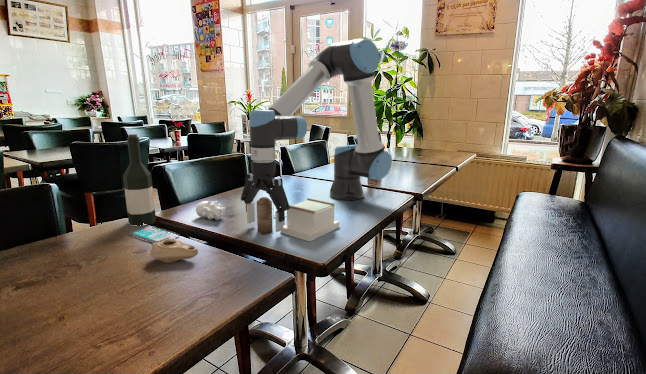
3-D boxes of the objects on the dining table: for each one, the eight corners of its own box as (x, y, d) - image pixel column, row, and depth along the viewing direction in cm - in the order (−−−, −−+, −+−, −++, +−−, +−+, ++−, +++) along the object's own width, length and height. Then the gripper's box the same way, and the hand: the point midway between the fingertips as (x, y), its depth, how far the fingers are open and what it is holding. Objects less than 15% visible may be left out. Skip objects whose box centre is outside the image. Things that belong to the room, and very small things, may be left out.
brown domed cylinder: (265, 227, 116) (264, 194, 113) (275, 230, 113) (274, 196, 111) (254, 231, 112) (253, 197, 110) (265, 234, 110) (264, 200, 107)
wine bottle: (161, 220, 122) (152, 134, 115) (142, 227, 114) (131, 136, 107) (143, 217, 125) (133, 133, 118) (123, 224, 117) (111, 135, 110)
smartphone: (156, 243, 100) (126, 233, 108) (157, 246, 101) (126, 236, 108) (182, 234, 108) (151, 225, 115) (182, 237, 108) (152, 228, 115)
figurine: (209, 205, 131) (233, 208, 125) (201, 221, 128) (225, 225, 122) (197, 196, 125) (222, 198, 120) (188, 212, 122) (213, 216, 117)
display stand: (311, 219, 124) (311, 196, 122) (339, 227, 117) (339, 202, 115) (280, 232, 112) (280, 206, 110) (309, 241, 105) (310, 213, 103)
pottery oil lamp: (189, 268, 86) (172, 247, 83) (156, 275, 91) (139, 255, 88) (207, 244, 93) (192, 224, 90) (175, 251, 98) (159, 232, 95)
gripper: (227, 158, 112) (230, 221, 117) (284, 166, 98) (285, 238, 103) (245, 155, 117) (247, 216, 122) (301, 163, 103) (301, 231, 108)
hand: (264, 226), depth 112 cm, fingers open, 12 cm apart
